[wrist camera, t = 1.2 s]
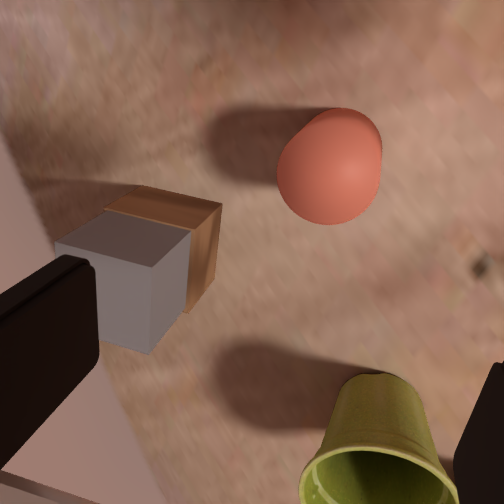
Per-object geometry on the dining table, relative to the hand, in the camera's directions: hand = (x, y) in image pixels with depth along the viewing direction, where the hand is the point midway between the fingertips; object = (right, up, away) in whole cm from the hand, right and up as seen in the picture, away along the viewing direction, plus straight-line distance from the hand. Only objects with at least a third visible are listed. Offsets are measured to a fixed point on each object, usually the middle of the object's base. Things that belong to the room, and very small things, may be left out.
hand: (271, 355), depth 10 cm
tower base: (-6, +4, +22) cm, 23 cm away
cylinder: (+5, +9, +17) cm, 19 cm away
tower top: (-7, +2, +18) cm, 19 cm away
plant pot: (+9, -9, +24) cm, 27 cm away
